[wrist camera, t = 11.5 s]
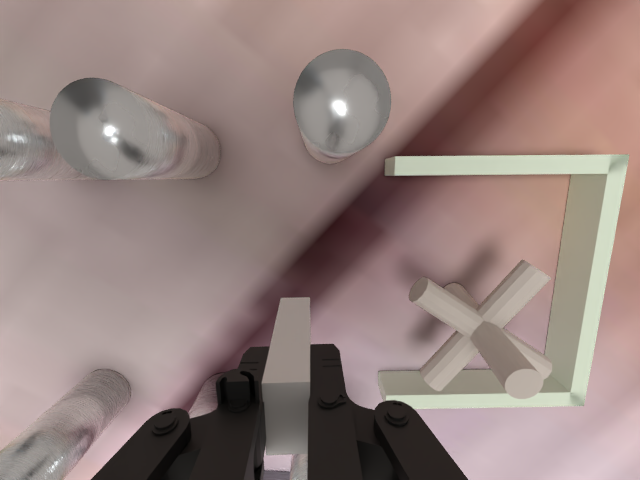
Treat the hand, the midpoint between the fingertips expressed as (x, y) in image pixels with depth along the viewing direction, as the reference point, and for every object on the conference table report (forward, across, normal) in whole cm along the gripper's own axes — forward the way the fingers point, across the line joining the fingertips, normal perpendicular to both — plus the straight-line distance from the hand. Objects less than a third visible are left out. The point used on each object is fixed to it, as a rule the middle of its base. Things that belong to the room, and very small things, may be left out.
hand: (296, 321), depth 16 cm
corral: (+8, +13, -1) cm, 16 cm away
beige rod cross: (+8, +12, -2) cm, 15 cm away
